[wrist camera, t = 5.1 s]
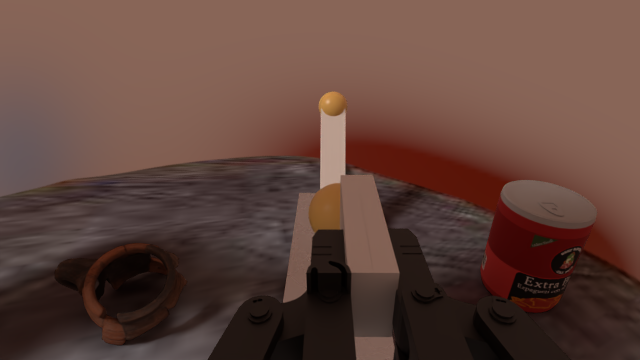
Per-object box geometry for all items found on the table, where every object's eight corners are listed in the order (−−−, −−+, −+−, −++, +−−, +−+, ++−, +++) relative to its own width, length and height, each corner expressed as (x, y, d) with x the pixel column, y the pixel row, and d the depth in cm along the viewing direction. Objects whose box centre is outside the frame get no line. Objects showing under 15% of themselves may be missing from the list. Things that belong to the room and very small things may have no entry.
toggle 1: (314, 212, 40) (315, 87, 41) (315, 210, 44) (316, 96, 45) (351, 212, 40) (351, 87, 41) (349, 211, 44) (349, 96, 45)
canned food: (512, 322, 33) (547, 227, 28) (463, 266, 40) (484, 183, 35) (578, 307, 34) (622, 216, 29) (519, 257, 41) (547, 175, 36)
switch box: (275, 406, 26) (272, 373, 24) (302, 196, 54) (302, 173, 52) (401, 409, 26) (407, 376, 24) (362, 196, 54) (364, 174, 52)
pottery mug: (197, 268, 40) (195, 238, 34) (173, 357, 35) (166, 341, 28) (85, 253, 38) (61, 218, 32) (41, 346, 32) (1, 326, 26)
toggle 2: (308, 313, 29) (298, 224, 17) (310, 273, 31) (301, 169, 20) (360, 314, 29) (384, 225, 17) (357, 273, 31) (378, 170, 19)
